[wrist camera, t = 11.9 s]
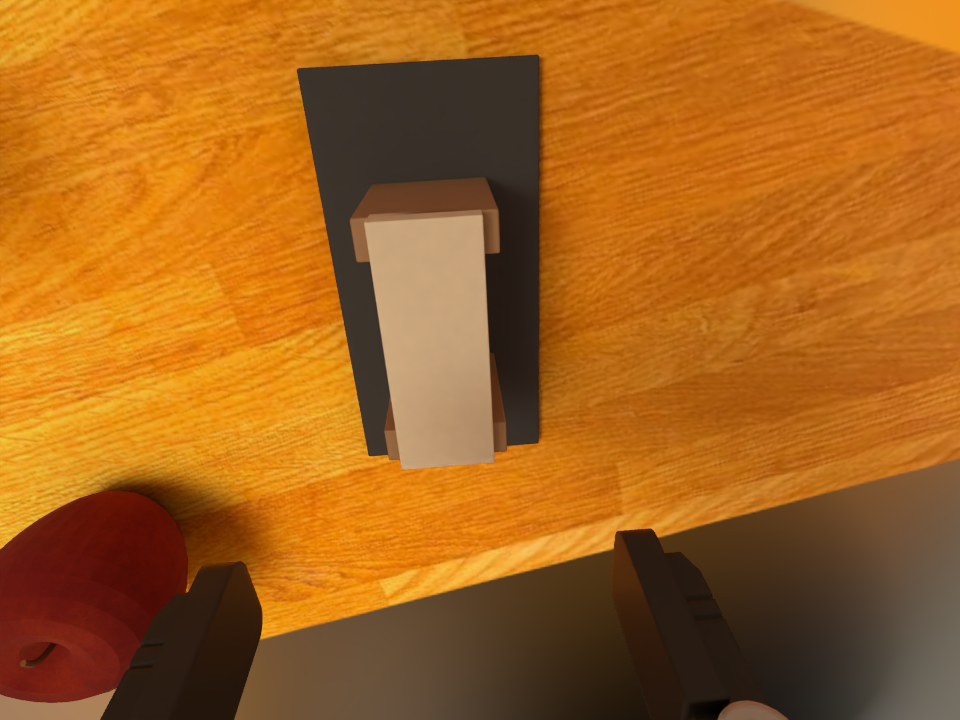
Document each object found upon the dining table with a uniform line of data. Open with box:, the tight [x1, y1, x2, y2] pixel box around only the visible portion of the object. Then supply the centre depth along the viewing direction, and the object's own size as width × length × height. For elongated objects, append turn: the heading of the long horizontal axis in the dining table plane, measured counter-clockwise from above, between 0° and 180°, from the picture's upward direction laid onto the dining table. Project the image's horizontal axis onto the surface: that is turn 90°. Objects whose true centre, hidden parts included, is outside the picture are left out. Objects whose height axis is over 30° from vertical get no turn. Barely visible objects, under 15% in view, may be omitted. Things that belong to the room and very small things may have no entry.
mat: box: [297, 55, 539, 456], centre depth 27 cm, size 20×10×1 cm, turn 3°
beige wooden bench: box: [350, 177, 507, 470], centre depth 24 cm, size 11×5×7 cm, turn 3°
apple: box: [0, 491, 188, 703], centre depth 29 cm, size 10×10×10 cm
